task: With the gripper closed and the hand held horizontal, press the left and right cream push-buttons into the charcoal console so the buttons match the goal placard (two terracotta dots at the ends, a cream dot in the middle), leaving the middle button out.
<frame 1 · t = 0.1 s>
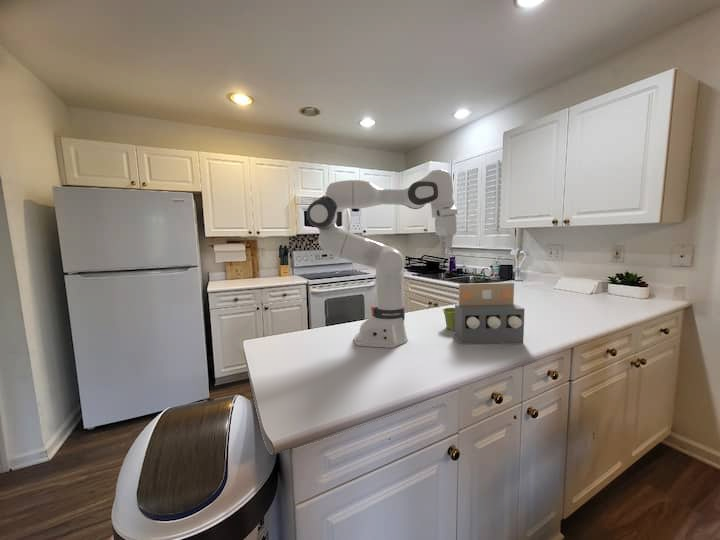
hand: (446, 246, 119), 39 cm above the worktop, tool pointing down, fingers open, 8 cm apart
plant pot: (453, 328, 137), on the worktop
console: (487, 339, 122), on the worktop
right button: (513, 321, 115), point 9 cm above the worktop, slide at 0.0 cm
middle button: (493, 321, 116), point 9 cm above the worktop, slide at 0.0 cm
left button: (472, 322, 116), point 9 cm above the worktop, slide at 0.0 cm
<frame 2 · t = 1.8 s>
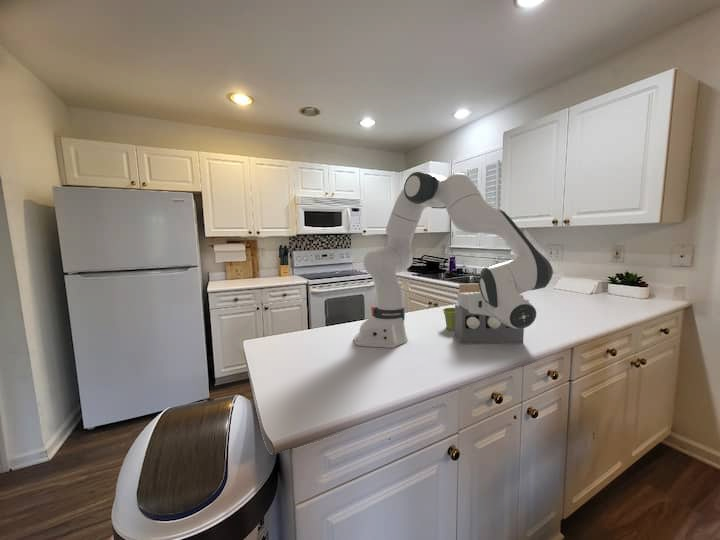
hand: (481, 294, 106), 22 cm above the worktop, tool horizontal, fingers open, 5 cm apart
nothing on the worktop moved.
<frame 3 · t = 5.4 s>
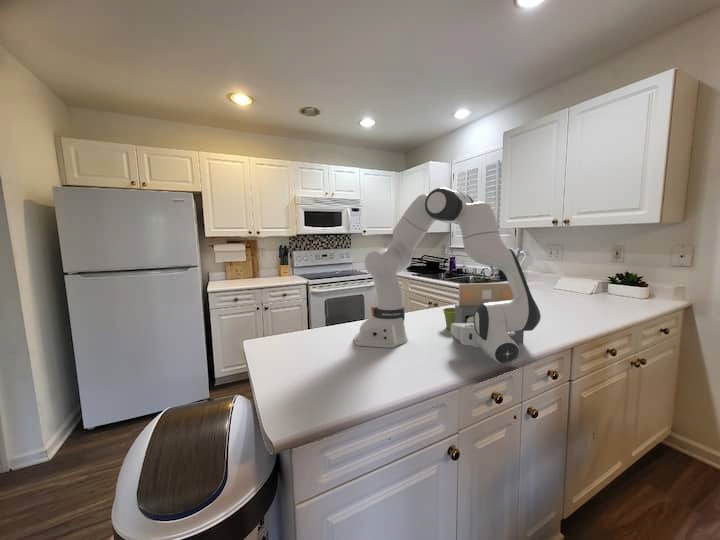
hand: (473, 323, 115), 9 cm above the worktop, tool horizontal, fingers closed, pressing on left button
left button: (471, 321, 117), point 9 cm above the worktop, slide at 0.7 cm, touching gripper
everything else where it was.
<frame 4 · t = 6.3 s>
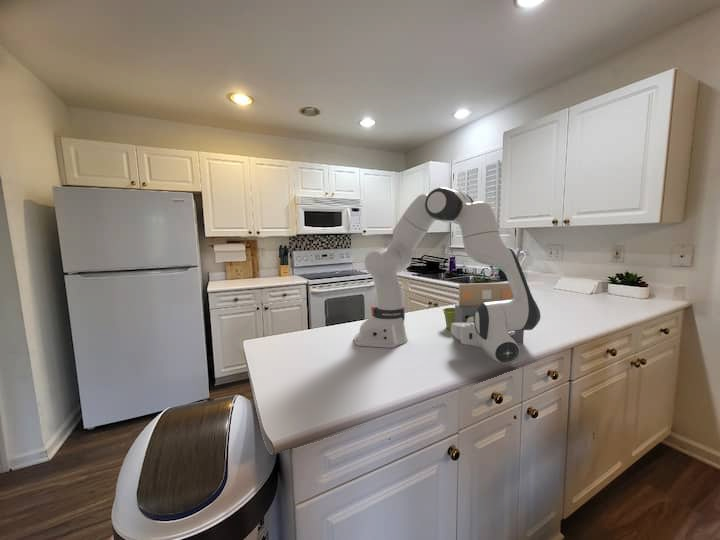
hand: (473, 322, 115), 9 cm above the worktop, tool horizontal, fingers closed
left button: (471, 321, 117), point 9 cm above the worktop, slide at 1.2 cm
everything else where it was.
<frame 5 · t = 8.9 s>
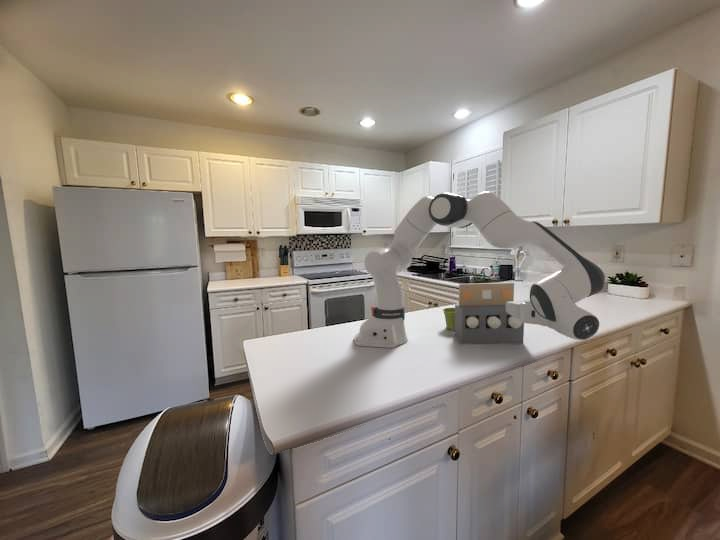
hand: (527, 302, 105), 19 cm above the worktop, tool horizontal, fingers closed
nothing on the worktop moved.
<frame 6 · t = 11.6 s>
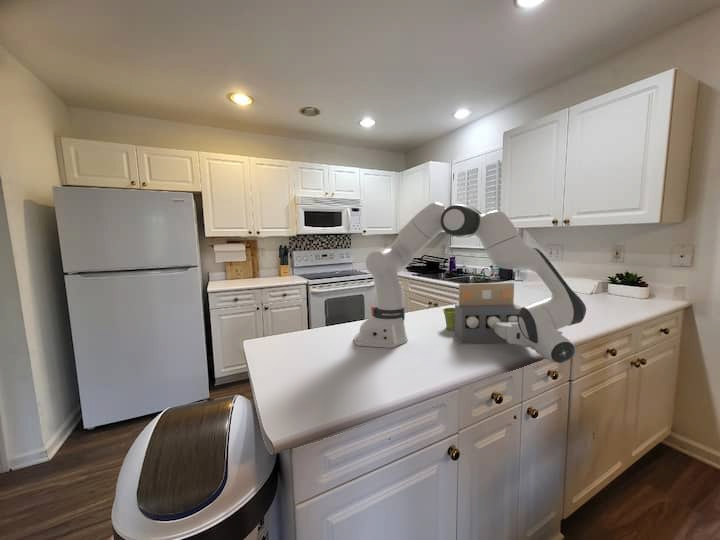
hand: (514, 322, 115), 9 cm above the worktop, tool horizontal, fingers closed, pressing on right button
right button: (512, 320, 116), point 9 cm above the worktop, slide at 0.9 cm, touching gripper
everything else where it was.
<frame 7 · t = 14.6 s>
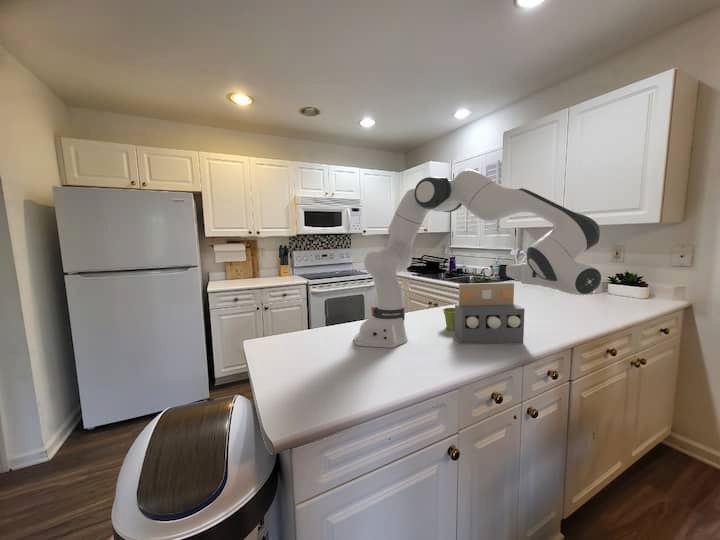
hand: (528, 267, 104), 31 cm above the worktop, tool horizontal, fingers closed
right button: (512, 320, 117), point 9 cm above the worktop, slide at 1.2 cm
everything else where it was.
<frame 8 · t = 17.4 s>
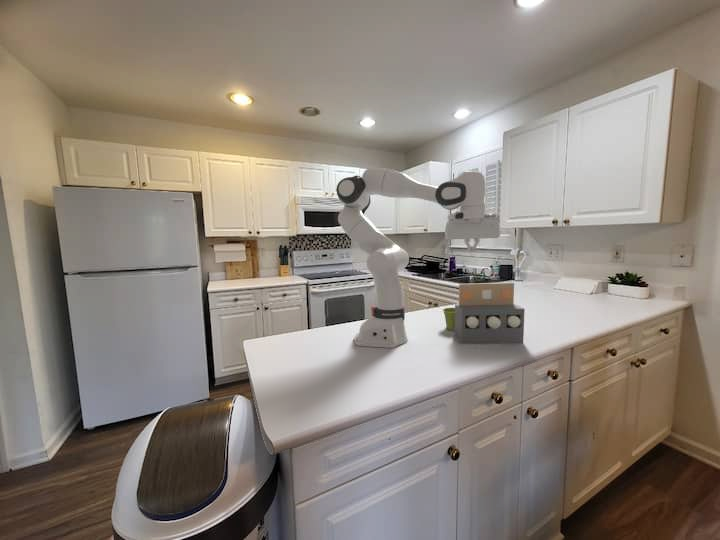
hand: (471, 250, 115), 37 cm above the worktop, tool pointing down, fingers closed
nothing on the worktop moved.
at the end: left button slide at 1.2 cm; right button slide at 1.2 cm; middle button slide at 0.0 cm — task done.
